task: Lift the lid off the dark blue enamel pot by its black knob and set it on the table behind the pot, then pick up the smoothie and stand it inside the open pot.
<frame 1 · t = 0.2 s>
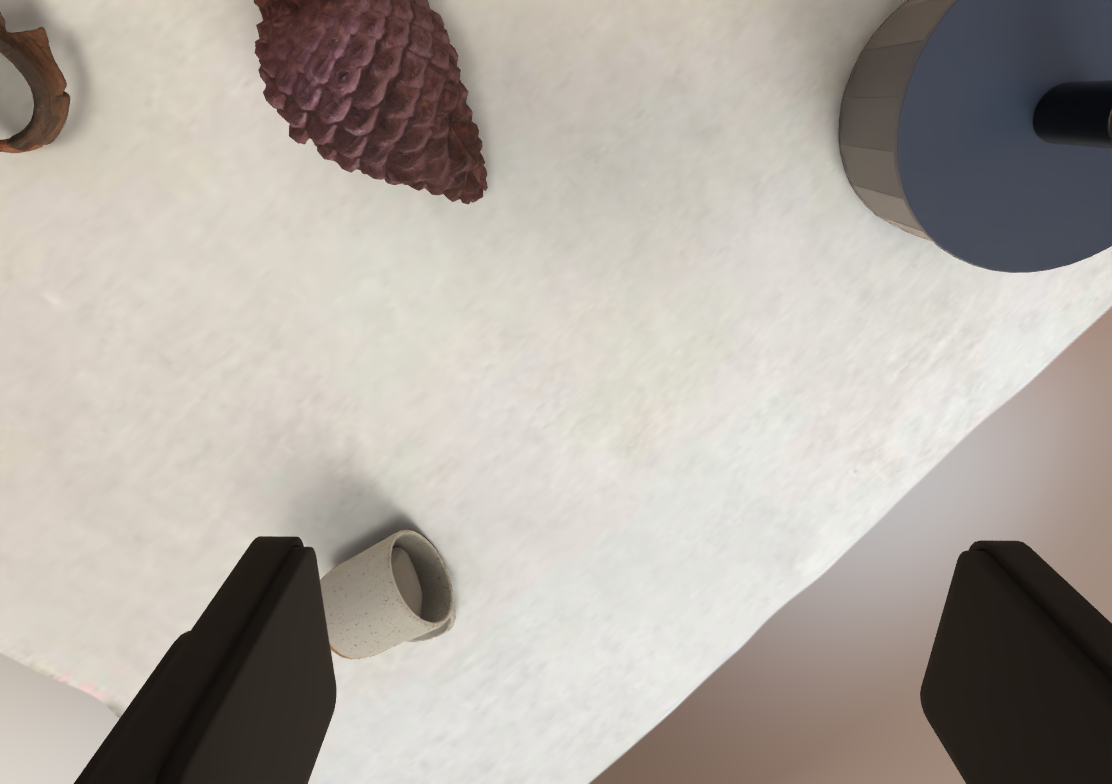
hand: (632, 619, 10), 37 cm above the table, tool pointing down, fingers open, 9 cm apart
pot lid: (1054, 113, 34), point 8 cm above the table, touching pot
pot: (961, 111, 42), on the table
ceramic mug: (406, 574, 55), on the table
pine cone: (386, 82, 41), on the table
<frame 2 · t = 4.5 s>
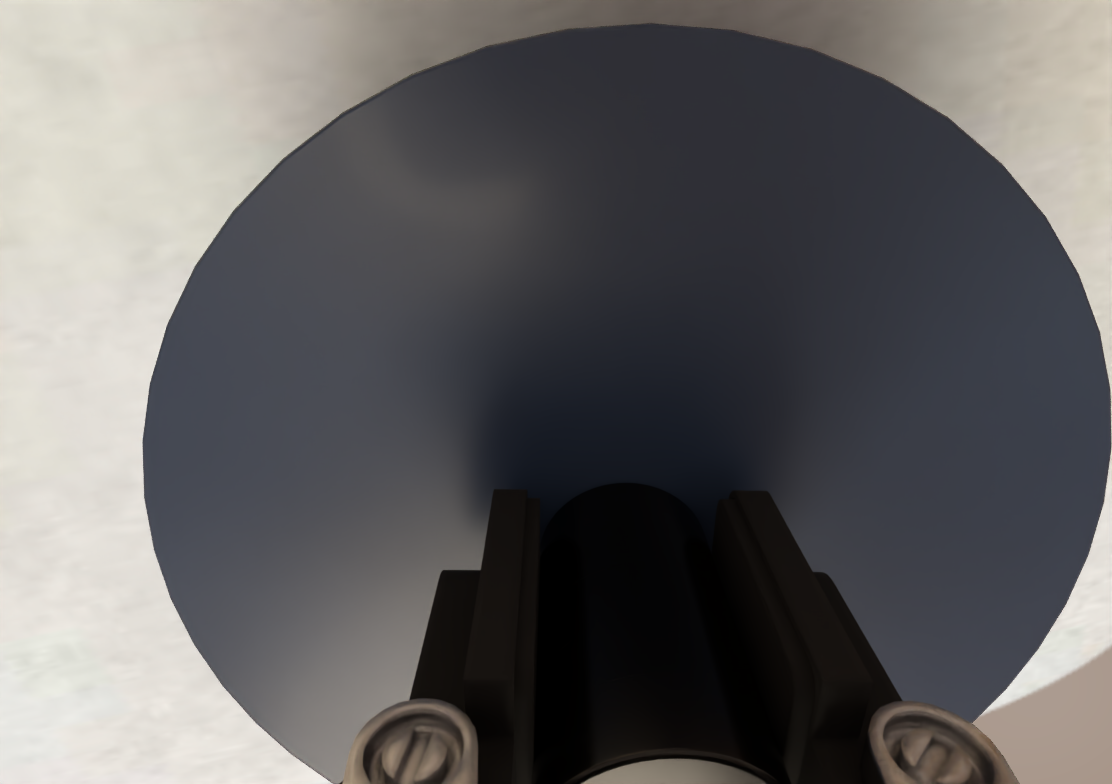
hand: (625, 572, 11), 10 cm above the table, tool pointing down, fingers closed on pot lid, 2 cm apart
pot lid: (619, 535, 12), point 9 cm above the table, touching gripper, pot
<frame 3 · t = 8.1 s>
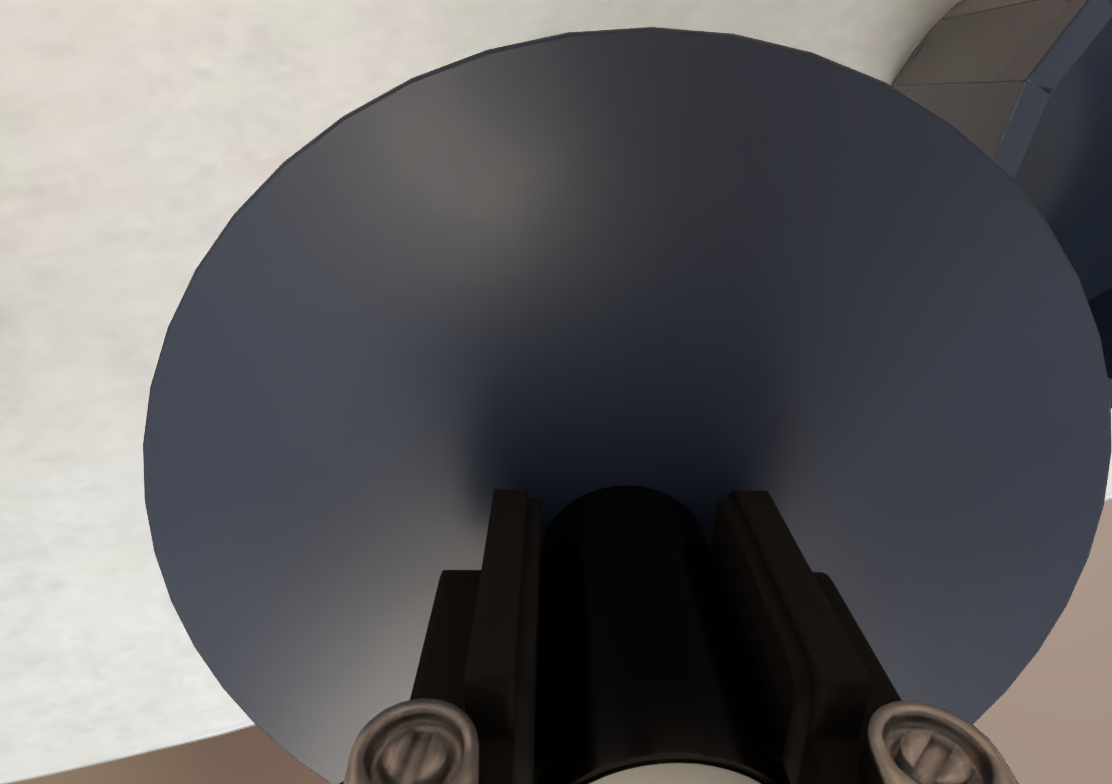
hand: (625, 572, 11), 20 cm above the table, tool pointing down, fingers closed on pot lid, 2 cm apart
pot lid: (620, 538, 12), point 19 cm above the table, touching gripper
pot: (1049, 157, 28), on the table
when the fingers open (2 cm above the table, at t = 11.6 s): pot lid stays where it is, point 1 cm above the table.
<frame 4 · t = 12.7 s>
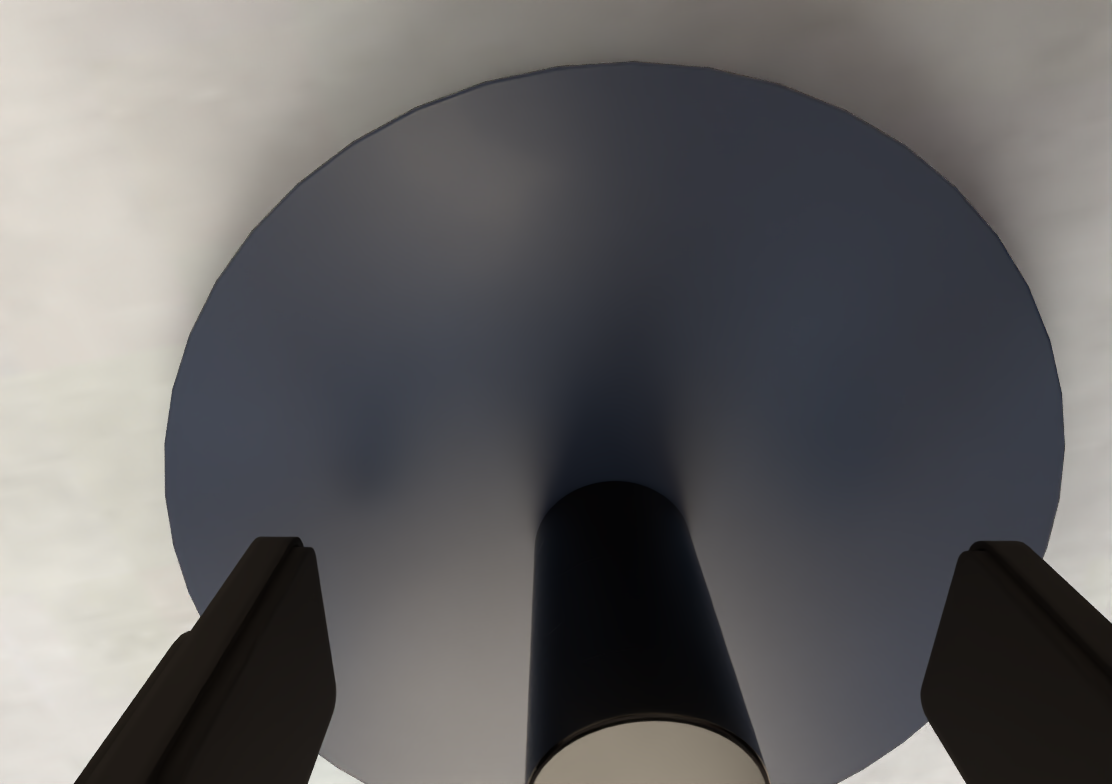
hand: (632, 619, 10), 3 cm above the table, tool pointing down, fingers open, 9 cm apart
pot lid: (610, 531, 13), point 1 cm above the table
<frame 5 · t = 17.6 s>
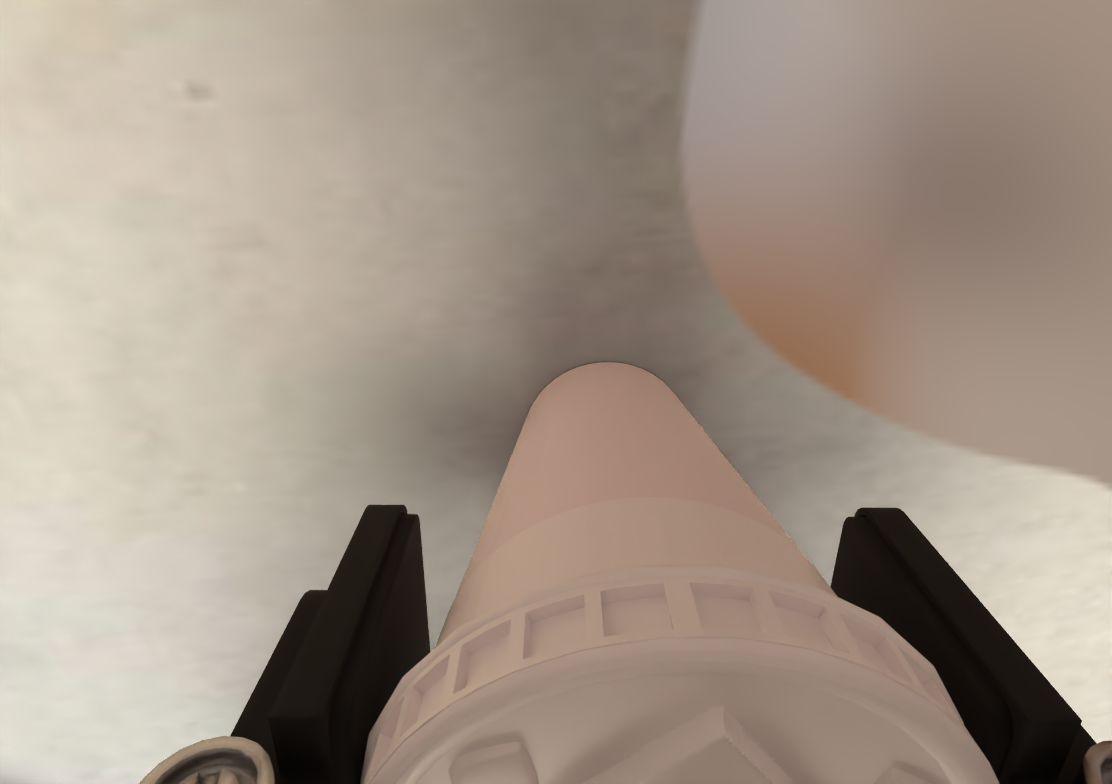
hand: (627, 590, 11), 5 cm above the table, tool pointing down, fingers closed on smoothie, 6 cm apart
smoothie: (604, 435, 16), on the table, touching gripper
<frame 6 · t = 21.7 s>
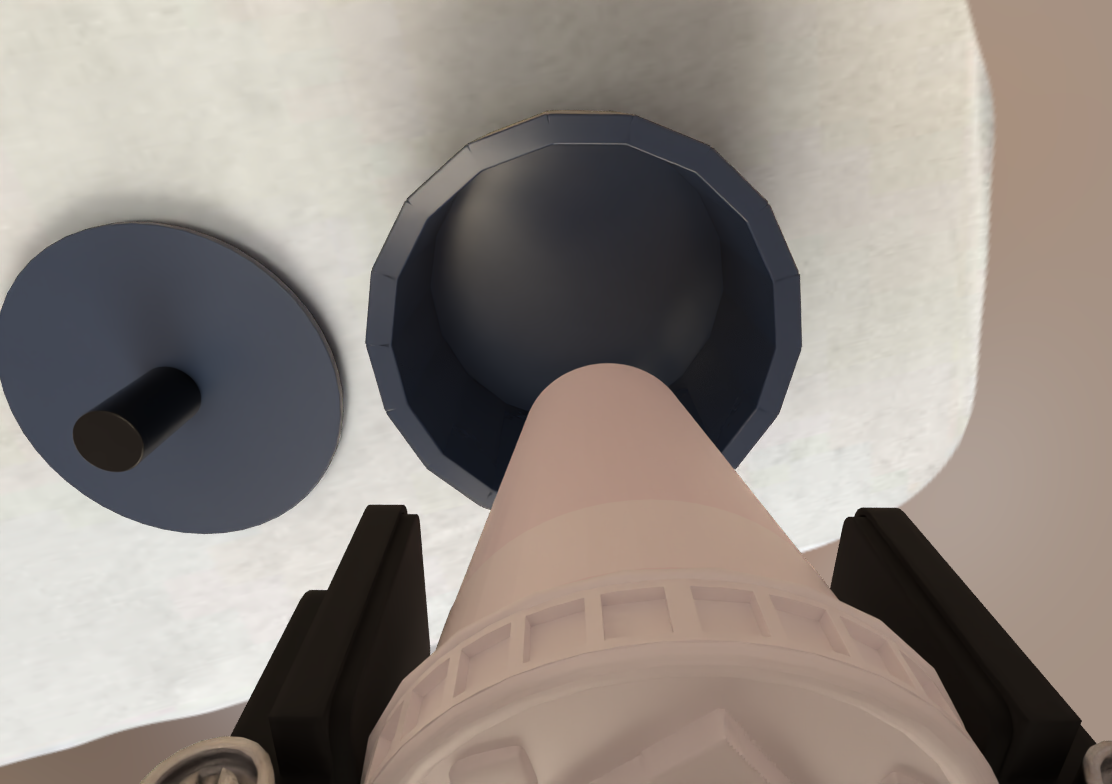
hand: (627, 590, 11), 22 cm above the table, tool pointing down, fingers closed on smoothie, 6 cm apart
pot lid: (177, 389, 33), point 1 cm above the table
pot: (576, 285, 31), on the table
smoothie: (604, 436, 16), point 17 cm above the table, touching gripper
when the fingers open (6 cm above the table, at t = 25.9 s): smoothie stays where it is, resting on pot.
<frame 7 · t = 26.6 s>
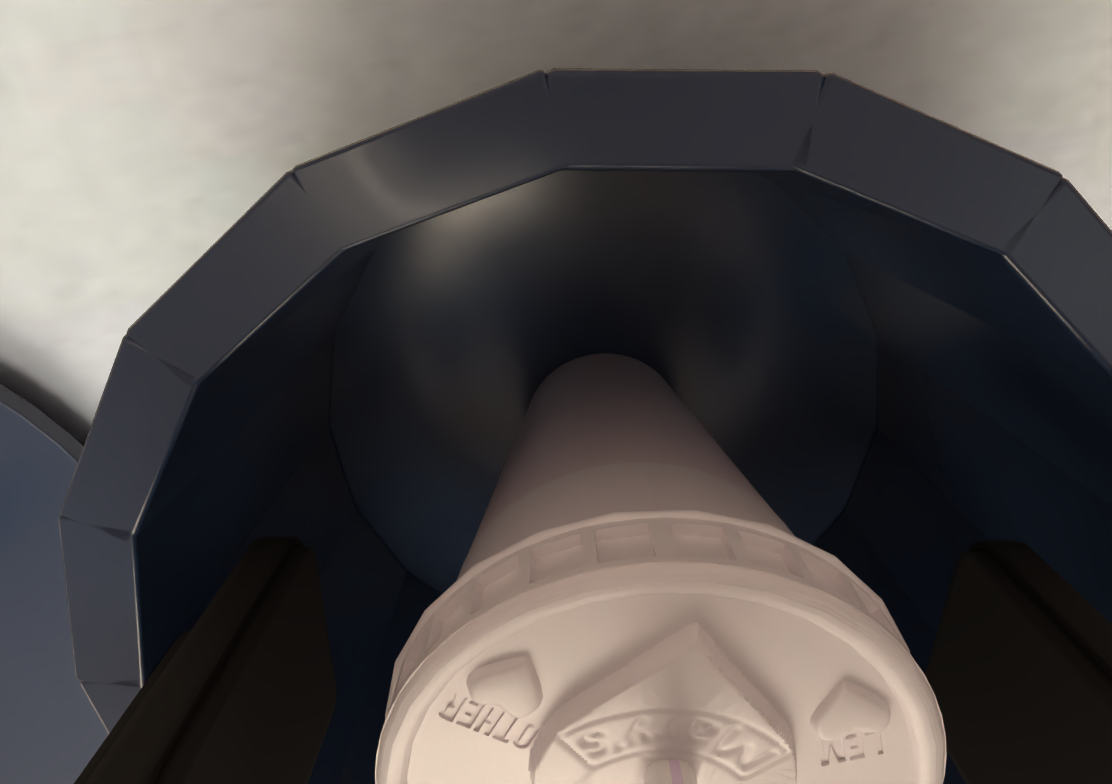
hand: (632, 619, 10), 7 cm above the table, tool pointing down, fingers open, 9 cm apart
pot: (601, 417, 17), on the table
smoothie: (602, 422, 17), resting on pot
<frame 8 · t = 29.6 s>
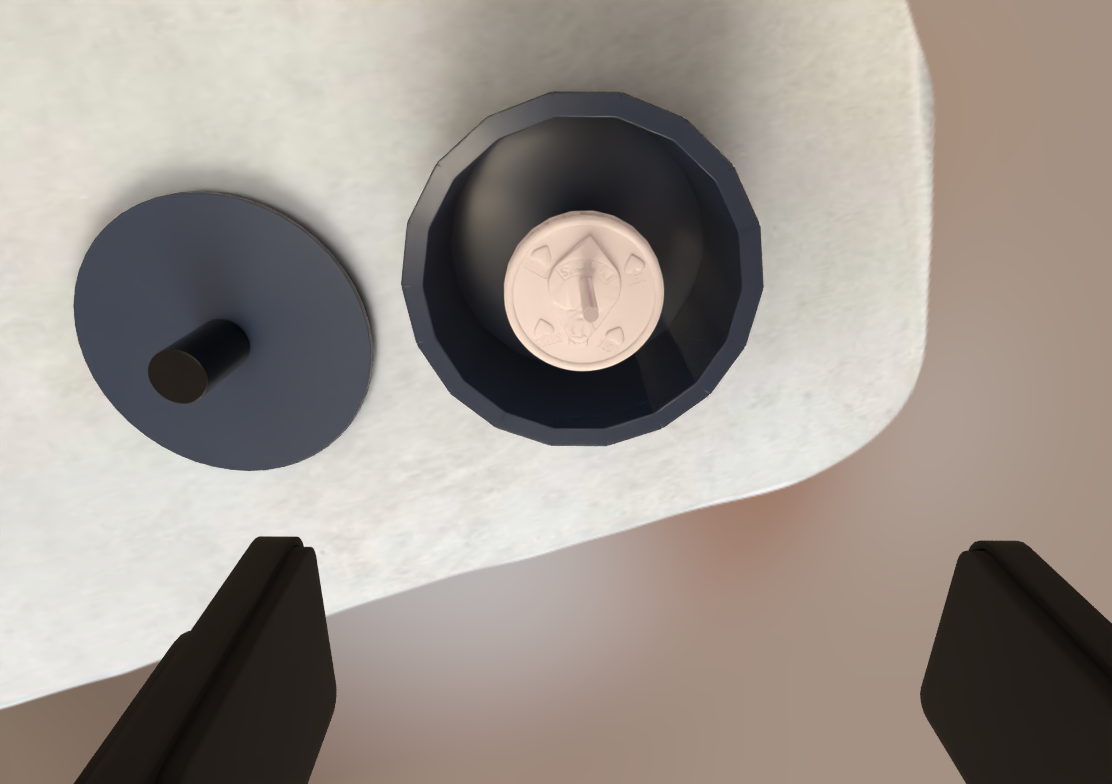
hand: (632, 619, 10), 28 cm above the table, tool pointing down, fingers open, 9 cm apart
pot lid: (228, 340, 37), point 1 cm above the table
pot: (576, 247, 36), on the table
smoothie: (576, 248, 36), resting on pot
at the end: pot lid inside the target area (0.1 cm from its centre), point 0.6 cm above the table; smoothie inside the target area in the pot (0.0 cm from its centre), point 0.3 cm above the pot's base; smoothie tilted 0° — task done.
